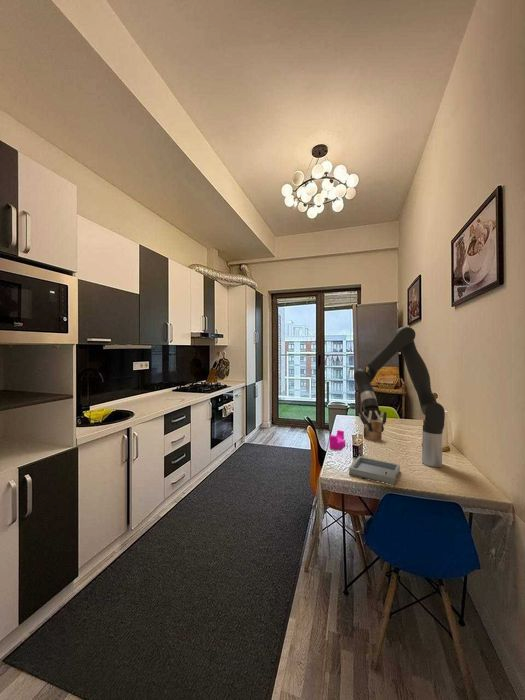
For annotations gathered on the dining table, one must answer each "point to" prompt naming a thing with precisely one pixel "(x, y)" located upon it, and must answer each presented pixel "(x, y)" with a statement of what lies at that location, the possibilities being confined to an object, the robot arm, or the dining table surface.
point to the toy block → (337, 440)
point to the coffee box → (366, 430)
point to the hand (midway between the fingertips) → (376, 431)
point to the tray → (375, 470)
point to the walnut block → (376, 430)
